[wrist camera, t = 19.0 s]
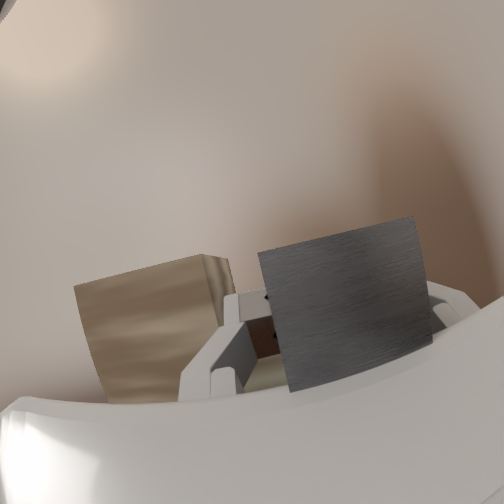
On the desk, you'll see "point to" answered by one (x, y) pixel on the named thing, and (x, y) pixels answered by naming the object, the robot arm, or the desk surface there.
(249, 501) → the robot arm
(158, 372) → the stepped stand
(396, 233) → the bar
